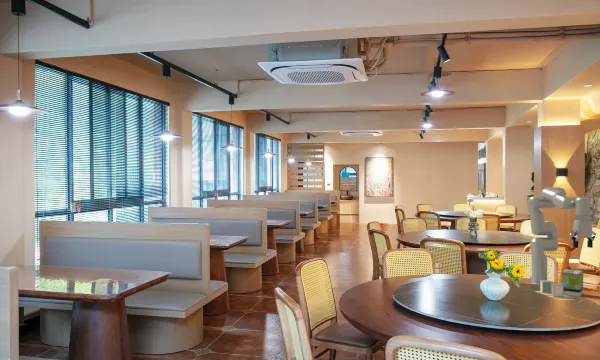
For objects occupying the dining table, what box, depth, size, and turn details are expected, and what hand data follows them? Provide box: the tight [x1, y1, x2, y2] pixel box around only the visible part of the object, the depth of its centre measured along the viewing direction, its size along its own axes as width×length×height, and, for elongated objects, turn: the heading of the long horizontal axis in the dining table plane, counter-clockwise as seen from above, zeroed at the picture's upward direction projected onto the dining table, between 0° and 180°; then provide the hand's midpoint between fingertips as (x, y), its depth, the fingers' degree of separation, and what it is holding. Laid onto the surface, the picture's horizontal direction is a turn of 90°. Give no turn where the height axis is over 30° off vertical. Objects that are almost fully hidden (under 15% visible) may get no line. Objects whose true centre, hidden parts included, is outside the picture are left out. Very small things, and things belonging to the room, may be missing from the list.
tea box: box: [561, 268, 584, 297], centre depth 278 cm, size 15×10×15 cm, turn 143°
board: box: [534, 290, 576, 301], centre depth 271 cm, size 22×11×1 cm, turn 5°
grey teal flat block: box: [539, 279, 553, 293], centre depth 279 cm, size 2×6×7 cm, turn 95°
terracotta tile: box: [552, 283, 563, 297], centre depth 268 cm, size 2×6×7 cm, turn 95°
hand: (582, 247), depth 268 cm, fingers open, 9 cm apart
